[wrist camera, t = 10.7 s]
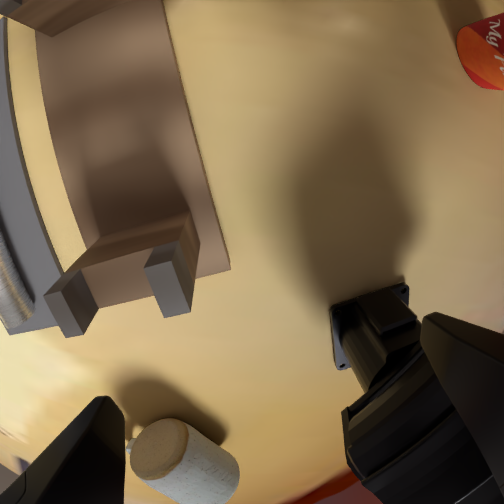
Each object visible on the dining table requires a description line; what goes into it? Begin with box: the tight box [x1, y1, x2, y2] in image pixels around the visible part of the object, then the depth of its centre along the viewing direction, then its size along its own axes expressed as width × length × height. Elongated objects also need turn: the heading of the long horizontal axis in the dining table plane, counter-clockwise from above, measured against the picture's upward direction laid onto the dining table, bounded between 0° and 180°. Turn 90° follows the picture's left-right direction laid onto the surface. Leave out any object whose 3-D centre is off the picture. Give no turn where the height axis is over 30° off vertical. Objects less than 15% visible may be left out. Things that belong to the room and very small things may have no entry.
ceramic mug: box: [126, 418, 240, 504], centre depth 22 cm, size 11×8×8 cm
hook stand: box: [0, 0, 231, 338], centre depth 11 cm, size 21×8×8 cm, turn 13°
